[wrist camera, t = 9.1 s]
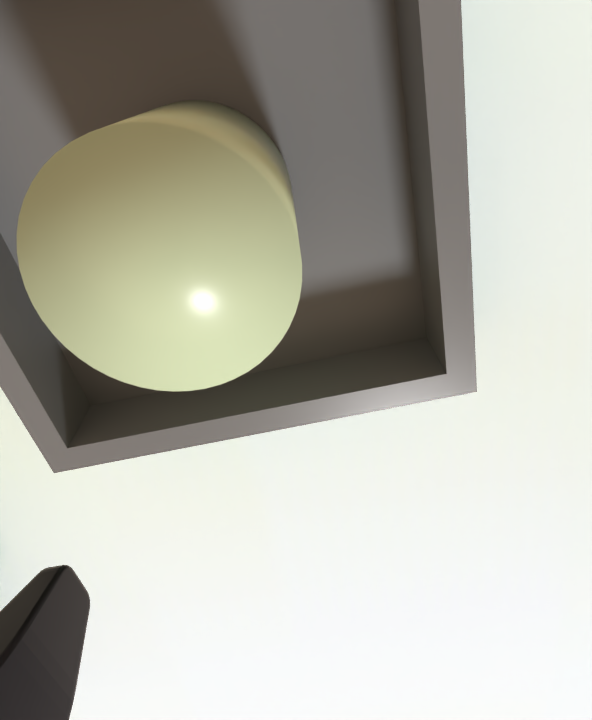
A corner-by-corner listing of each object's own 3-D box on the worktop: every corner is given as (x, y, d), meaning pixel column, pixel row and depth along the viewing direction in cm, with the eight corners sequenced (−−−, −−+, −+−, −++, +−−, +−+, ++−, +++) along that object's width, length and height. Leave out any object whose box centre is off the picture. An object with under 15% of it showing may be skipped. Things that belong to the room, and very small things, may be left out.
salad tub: (269, 78, 15) (266, 87, 9) (308, 265, 18) (324, 364, 12) (80, 125, 16) (-42, 162, 10) (149, 299, 19) (88, 411, 13)
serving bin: (409, -189, 13) (449, -267, 10) (448, 344, 21) (476, 391, 18) (-155, -27, 14) (-271, -52, 11) (84, 417, 22) (54, 472, 19)
